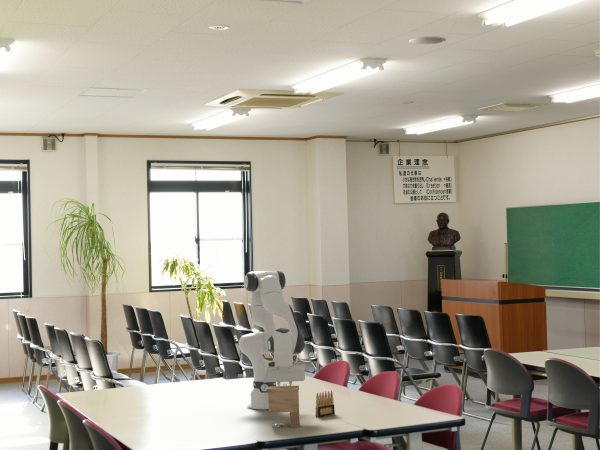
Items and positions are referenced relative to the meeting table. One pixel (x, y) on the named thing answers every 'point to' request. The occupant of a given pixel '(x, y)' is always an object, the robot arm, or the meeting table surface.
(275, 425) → the token
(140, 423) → the meeting table surface
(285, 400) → the wooden l-shaped block
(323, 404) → the ammunition clip
